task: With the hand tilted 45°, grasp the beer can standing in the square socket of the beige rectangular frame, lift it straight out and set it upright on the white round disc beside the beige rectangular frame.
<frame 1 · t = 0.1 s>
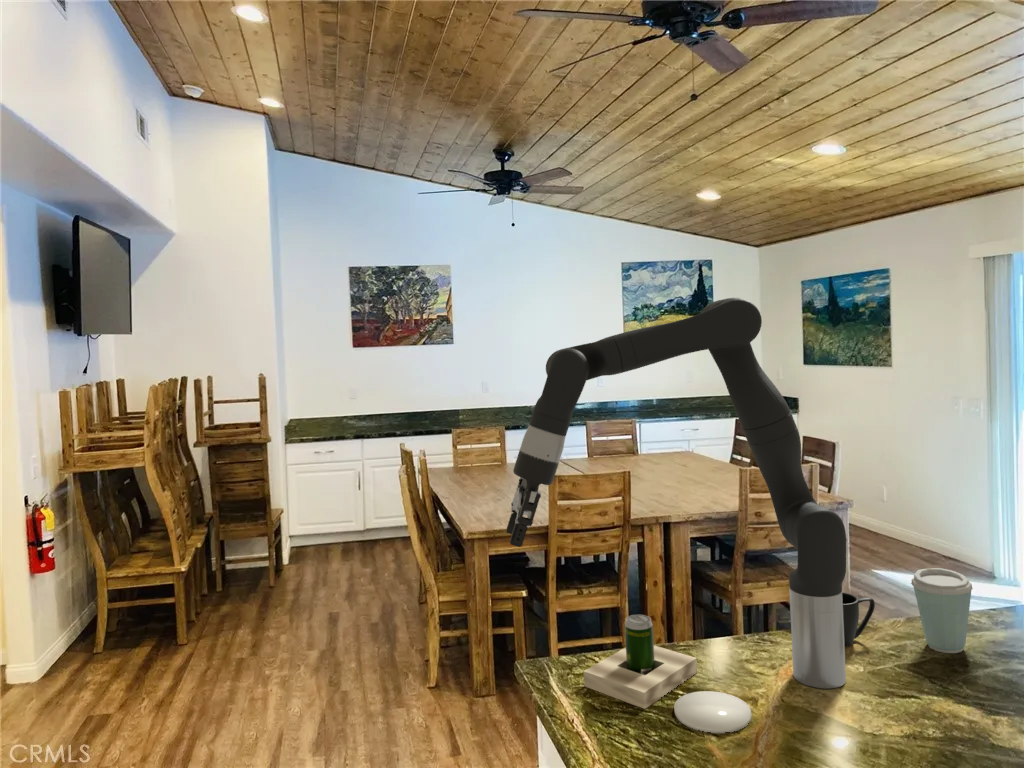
hand: (513, 539, 128), 31 cm above the countertop, tool tilted 20°, fingers open, 8 cm apart
beer can: (641, 680, 138), resting in beige rectangular frame
white round disc: (712, 713, 124), on the countertop
mug: (847, 641, 150), on the countertop
beige rectangular frame: (641, 679, 138), on the countertop
disposable coffee cup: (943, 648, 144), on the countertop
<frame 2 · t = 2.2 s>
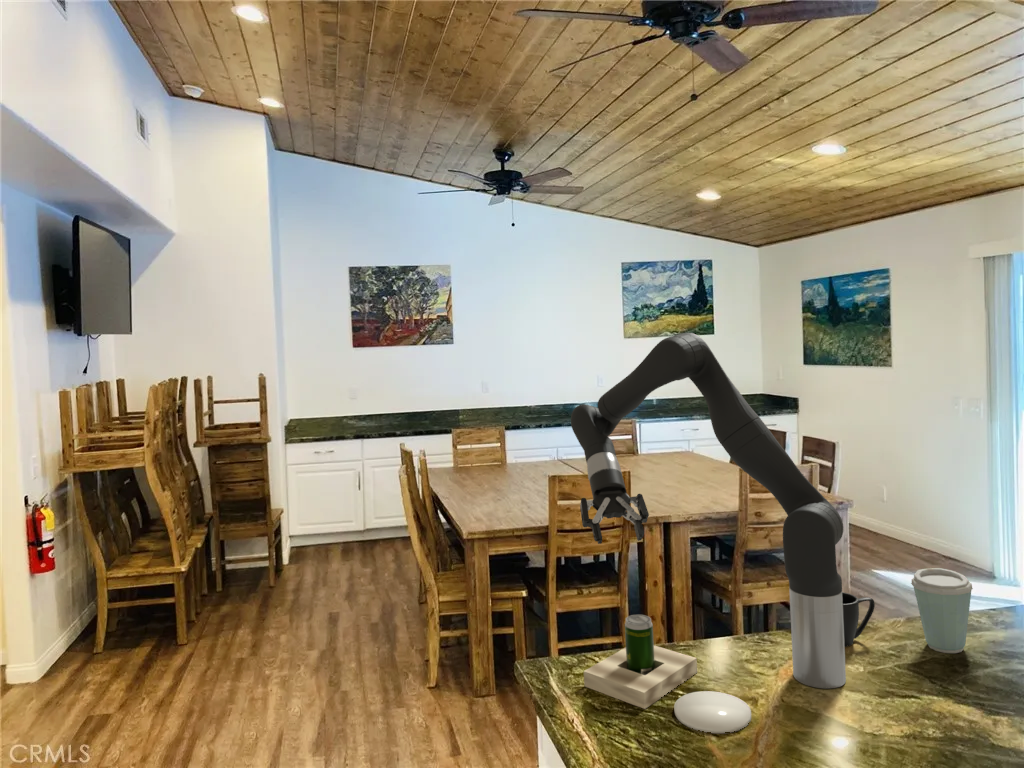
hand: (620, 540, 149), 25 cm above the countertop, tool tilted 45°, fingers open, 8 cm apart
nothing on the countertop moved.
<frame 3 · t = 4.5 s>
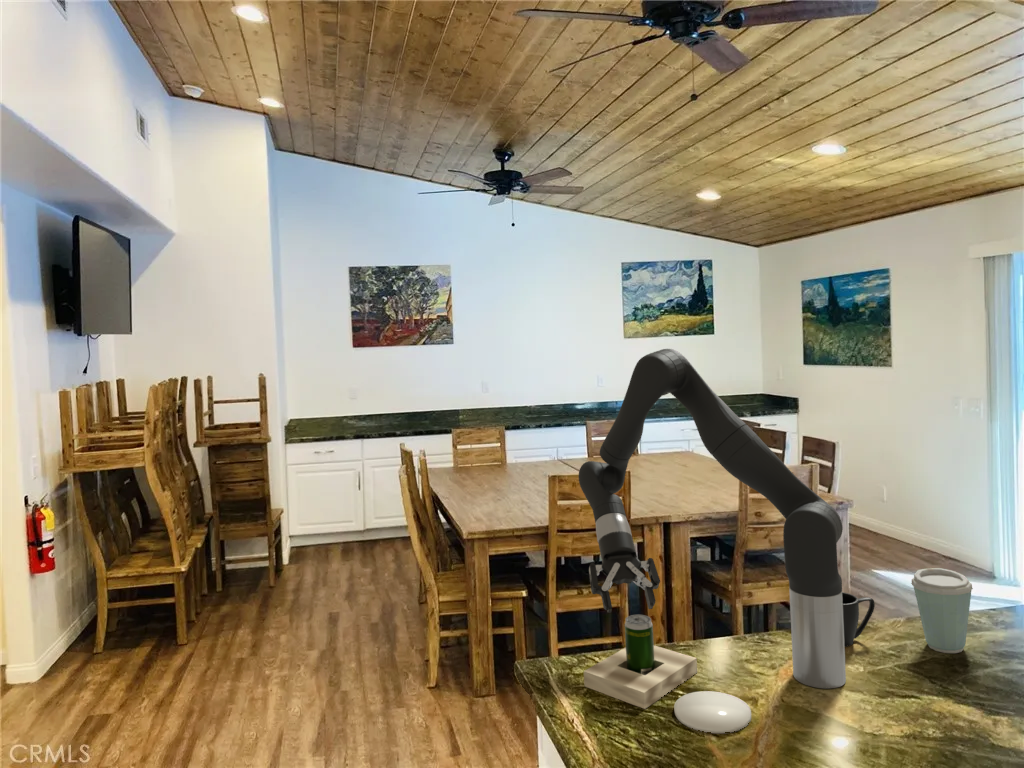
hand: (630, 609, 144), 12 cm above the countertop, tool tilted 45°, fingers open, 8 cm apart
nothing on the countertop moved.
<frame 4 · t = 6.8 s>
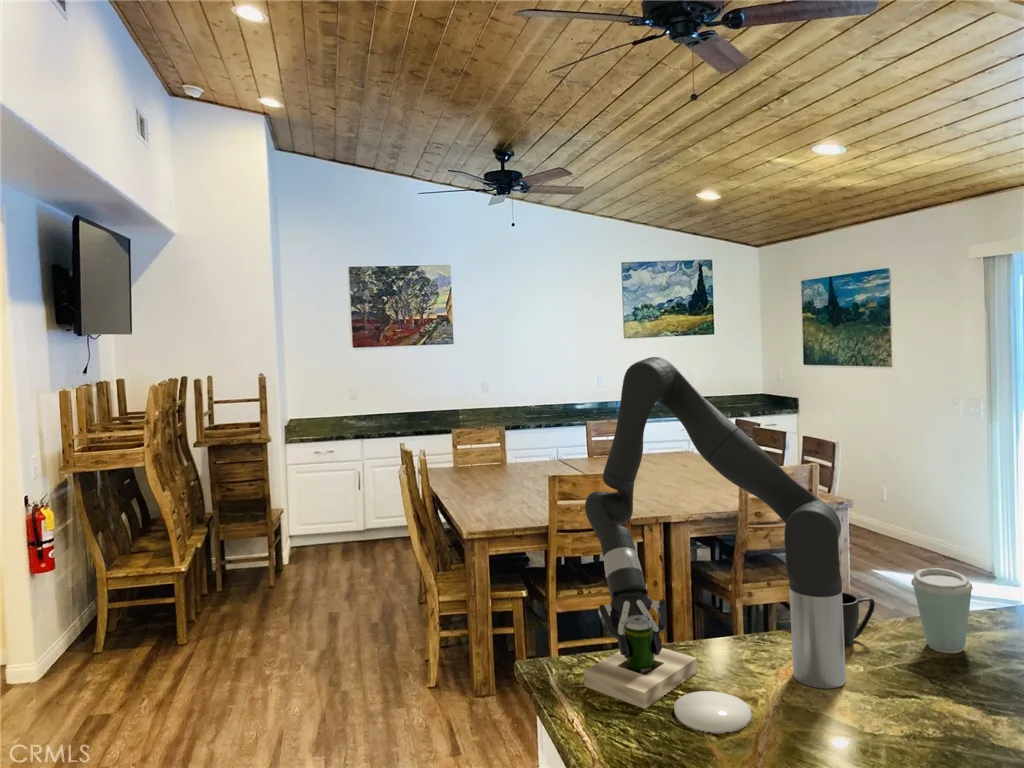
hand: (642, 654, 136), 6 cm above the countertop, tool tilted 45°, fingers closed on beer can, 5 cm apart
beer can: (641, 680, 138), resting in beige rectangular frame, touching gripper
everything else where it was.
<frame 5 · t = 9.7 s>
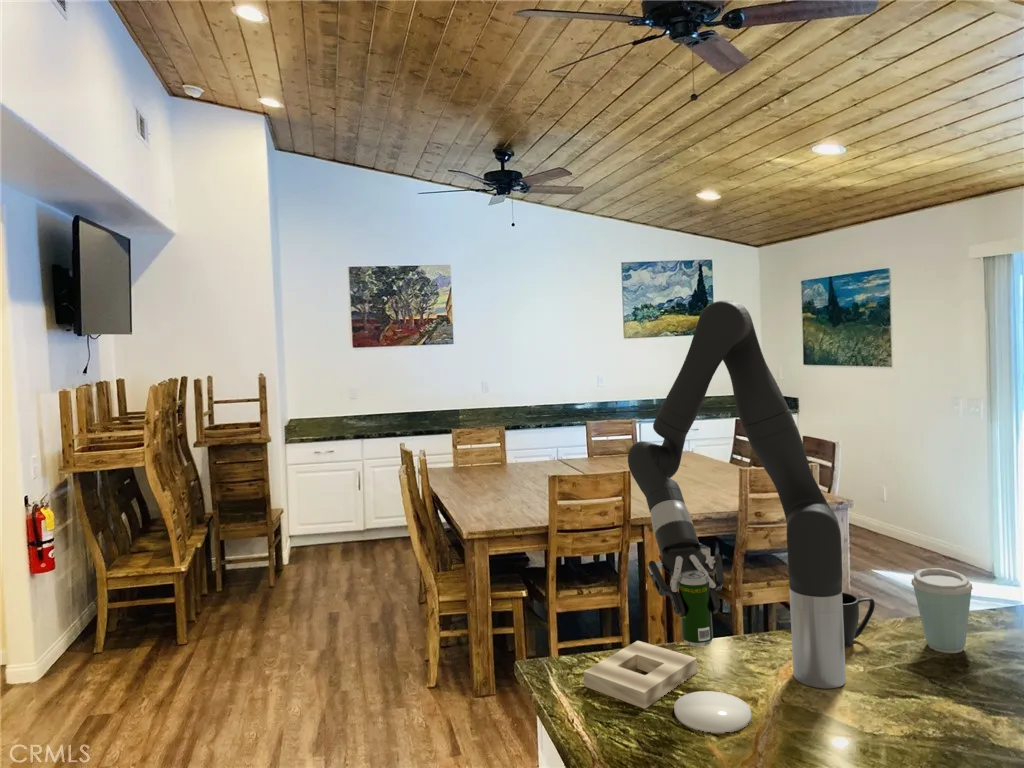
hand: (699, 612, 124), 18 cm above the countertop, tool tilted 45°, fingers closed on beer can, 5 cm apart
beer can: (697, 642, 126), point 12 cm above the countertop, touching gripper
everything else where it was.
when the fingers open (8 cm above the countertop, at t = 12.9 s): beer can drops 1 cm, resting on white round disc.
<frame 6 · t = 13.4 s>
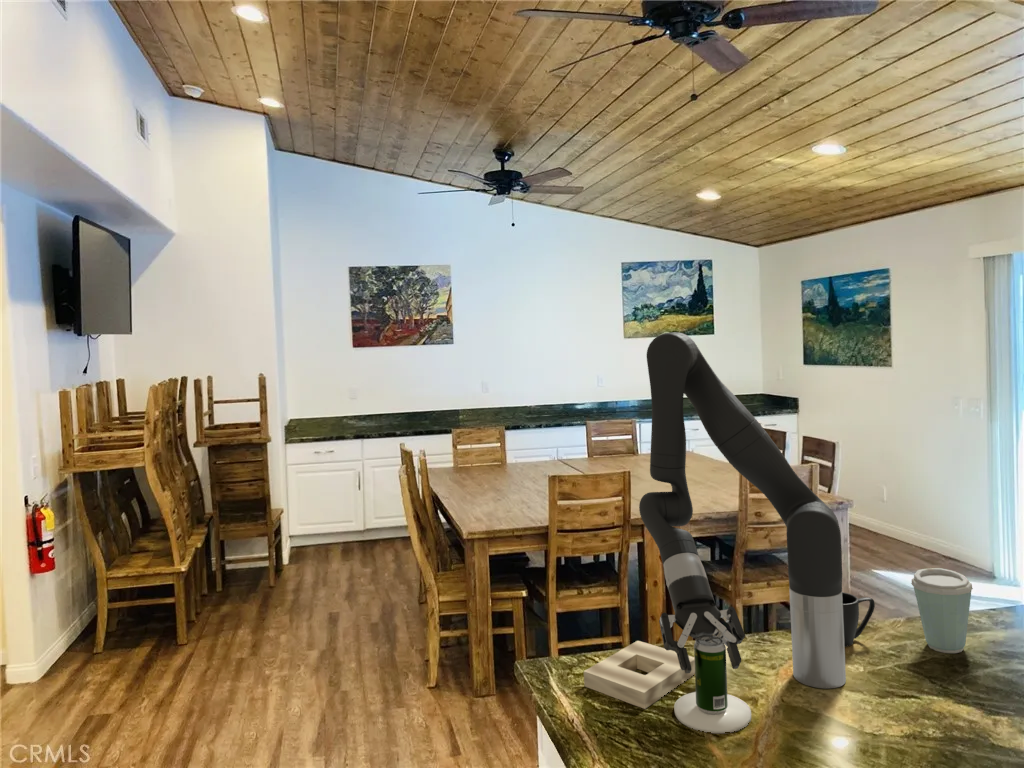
hand: (712, 669, 122), 8 cm above the countertop, tool tilted 45°, fingers open, 8 cm apart
beer can: (711, 709, 124), point 1 cm above the countertop, touching white round disc
everything else where it was.
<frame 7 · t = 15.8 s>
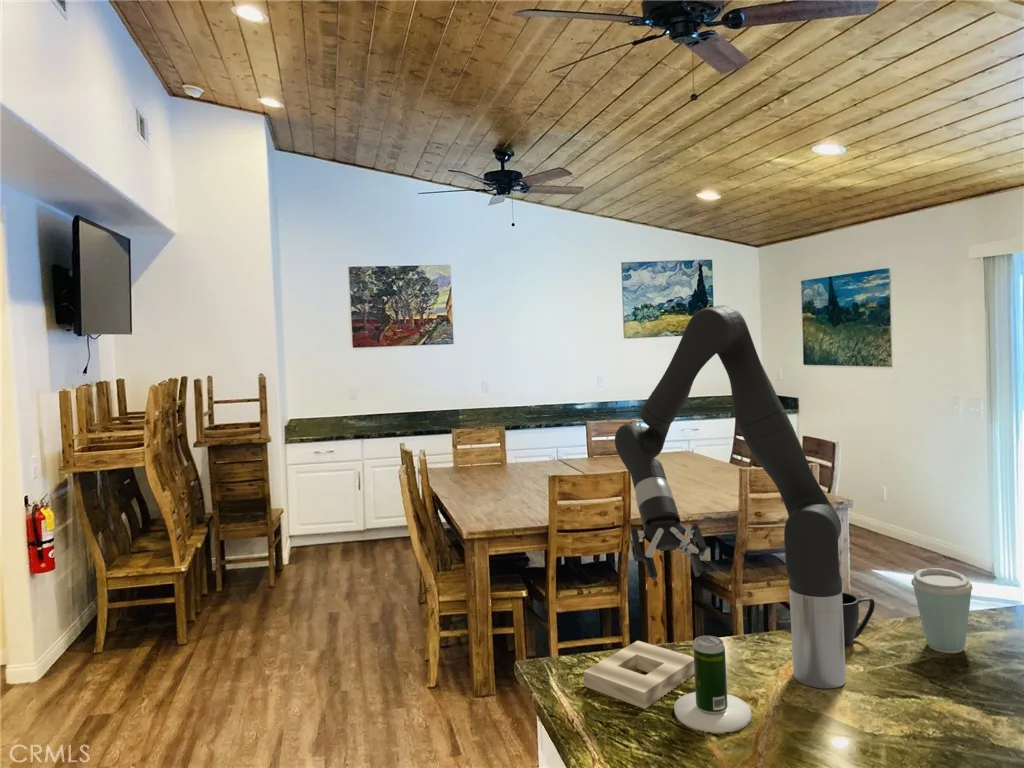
hand: (676, 576, 135), 21 cm above the countertop, tool tilted 45°, fingers open, 8 cm apart
nothing on the countertop moved.
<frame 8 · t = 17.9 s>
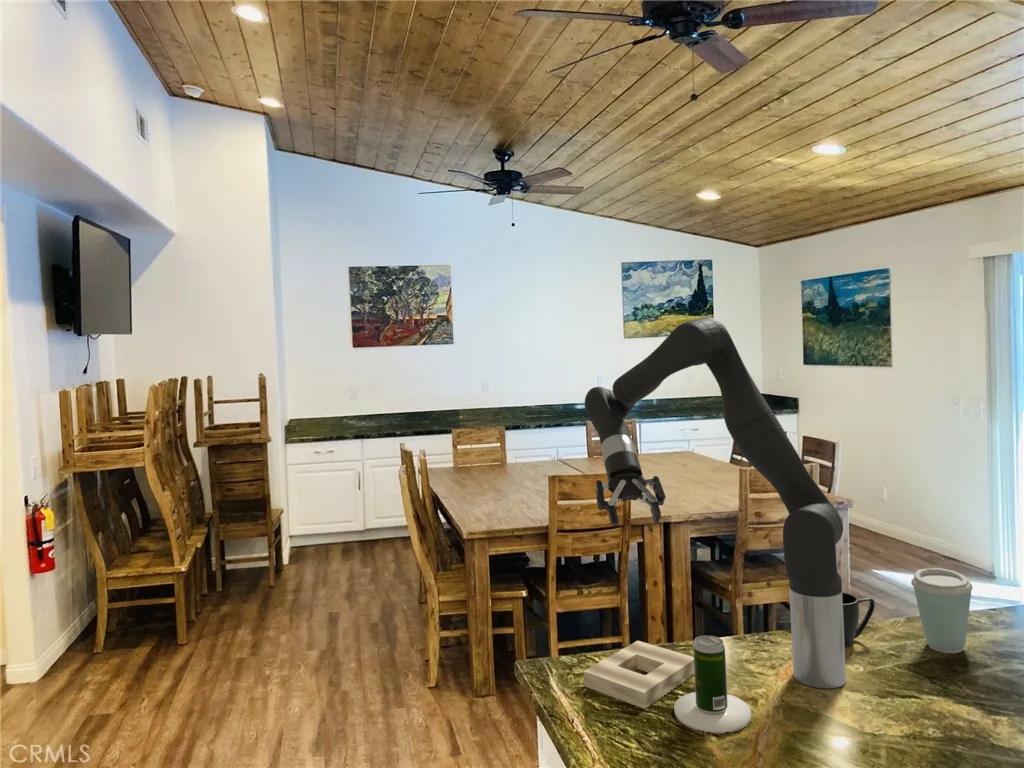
hand: (636, 522, 146), 29 cm above the countertop, tool tilted 45°, fingers open, 8 cm apart
nothing on the countertop moved.
at the end: beer can 0.2 cm from the white round disc (horizontally); beer can tilted 0°; beer can point 0.6 cm above the countertop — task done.
